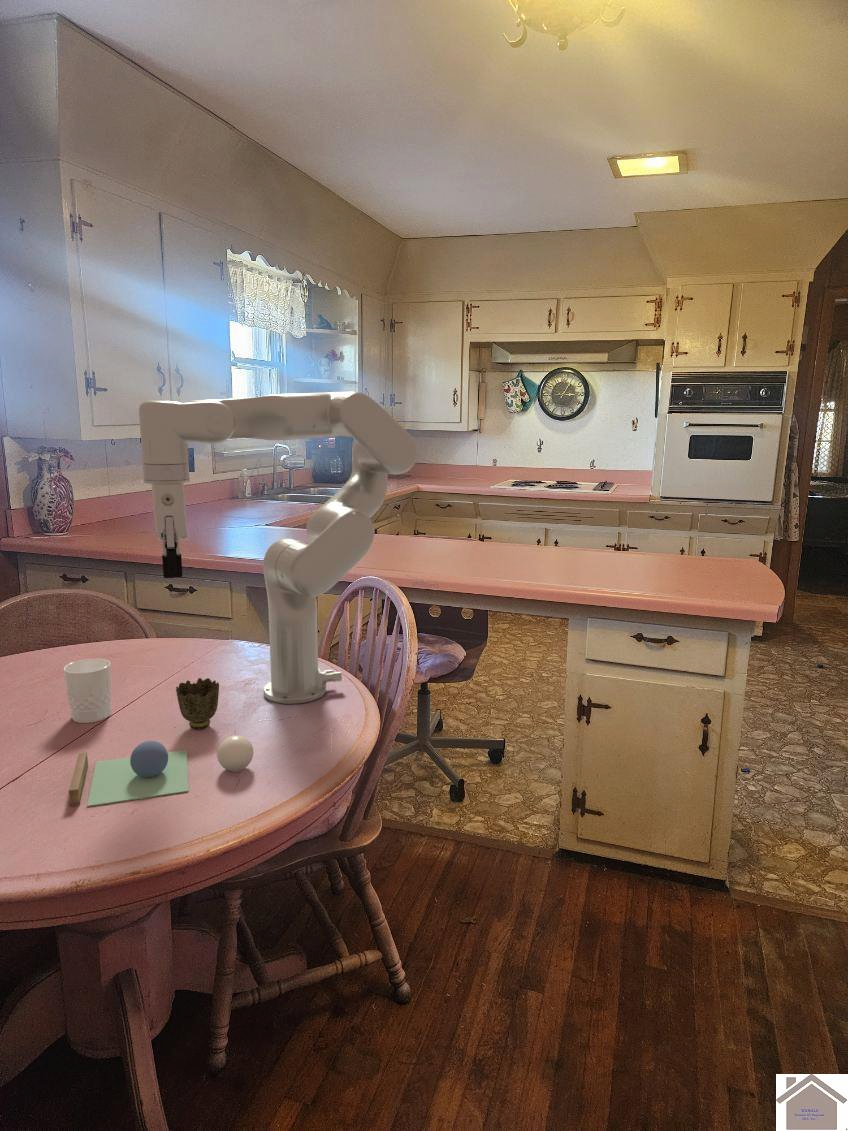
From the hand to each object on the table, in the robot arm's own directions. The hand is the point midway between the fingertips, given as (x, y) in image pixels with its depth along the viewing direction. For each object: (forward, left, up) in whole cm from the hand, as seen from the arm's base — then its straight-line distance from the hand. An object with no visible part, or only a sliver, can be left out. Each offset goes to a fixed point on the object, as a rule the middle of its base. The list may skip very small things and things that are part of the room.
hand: (173, 576), depth 129 cm
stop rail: (+15, +21, -27) cm, 38 cm away
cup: (-3, +5, -27) cm, 28 cm away
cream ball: (-8, +23, -24) cm, 34 cm away
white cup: (+16, -6, -27) cm, 32 cm away
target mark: (+6, +21, -27) cm, 35 cm away
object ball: (+5, +21, -24) cm, 33 cm away
